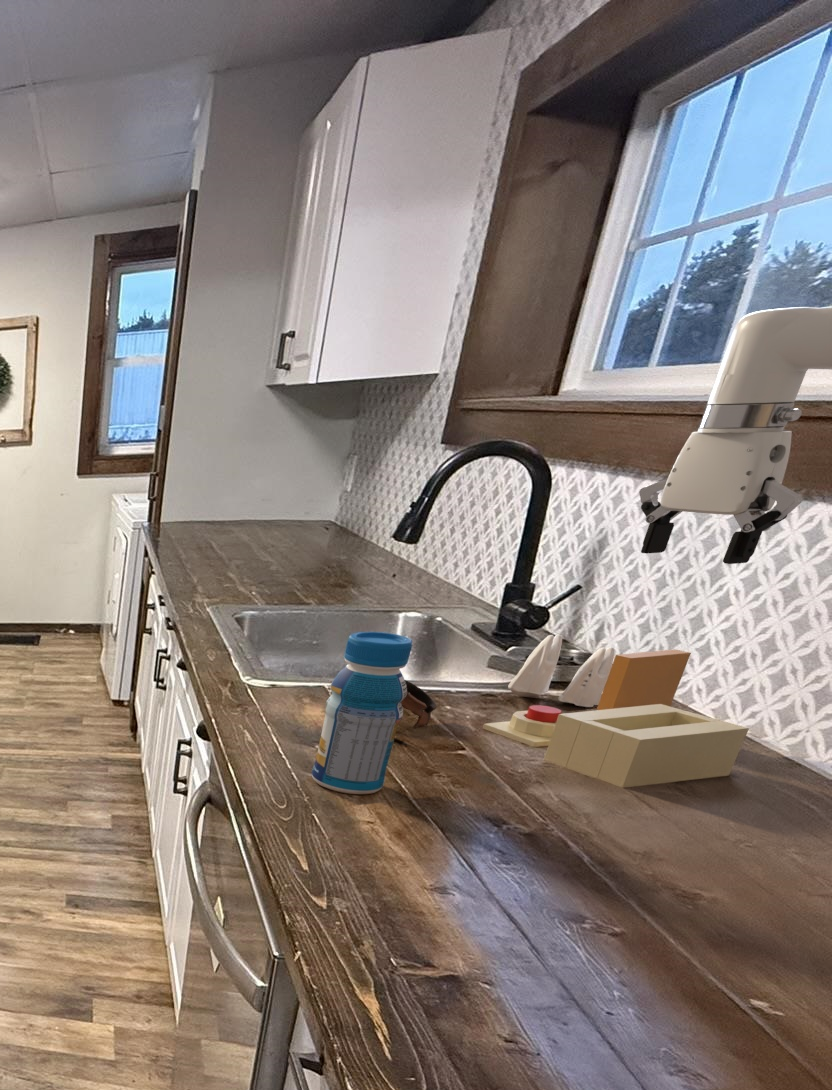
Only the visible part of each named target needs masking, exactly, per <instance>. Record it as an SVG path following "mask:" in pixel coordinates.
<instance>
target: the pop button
mask: <svg viewBox="0 0 832 1090" xmlns="http://www.w3.org/2000/svg"><path fill="white" fill-rule="evenodd" d="M527 711H528V712H527V715H526V718H528V719H531V720H534V721H540V722H548V723H556V722H557V719H558V716H559V714H562V712H563V711H562V709H559V708H557V707H554V706H549V705H539V704H534V705H529V706H528V709H527Z"/></svg>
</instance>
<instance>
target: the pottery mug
mask: <svg viewBox="0 0 832 1090" xmlns="http://www.w3.org/2000/svg"><path fill="white" fill-rule="evenodd" d="M405 682H406V686H407V696H406V697H405V699H403V700H402V702H401V705H402V707H403V709H406V710H408V711H410V712H411V713H412V714H414V715H415V716H417V717H418V718H417V721H416V722H415V723H414V725H413V726H412V728H415V727H425V726H428V725H429V723H430V720H431V717H432V714H431V713H432V712H433V711H435V710H437V704H436V703H435V701H434V700H433V698H432V697H431V696H429V694H427V692H425V691H424V690H423V689H421V688H420V687H418V686H417V685H416V684H414V683H412V682H411V681H408V680H407V679H405Z"/></svg>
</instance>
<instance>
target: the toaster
mask: <svg viewBox="0 0 832 1090" xmlns="http://www.w3.org/2000/svg"><path fill="white" fill-rule="evenodd" d="M749 730H750V728H749V727H746V726H742V725H738V724H736V723H731V722H728V721H724V720H721V719H718V718H717V719H716V718H714V717H709V716H707V715H702V714H699V713H695V712H691V711H687V710H684V709H680V708H677V707H673V706H666V705H663V704H655V705H645V706H635V707H625V708H615V709H605V710H597V709H596V710H587V711H586V710H585V711H577V712H575V711H574V712H567V713H561V714H559V716H558V719H557V722H556V725H555V727H554V730H553V733H552V736H551V739H550V742H549V745H548V746H547V748H546V750H545V751H546V752H545V755H544V758H543V760H544V761H547V762H549V763H552V764H554V765H557V766H560V767H563V768H565V769H568V770H570V771H573V772H576V773H579V774H581V775H584V776H586V777H589V778H592V779H598V780H600V781H603V782H606V783H609V784H611V785H614V786H617V787H619V788H632V787H633V788H634V787H640V786H648V785H649V786H650V785H658V784H666V783H667V784H668V783H675V782H684V781H692V780H700V779H710V778H718V777H727V776H730V775H731V771H732V769H733V767H734V765H735V762H736V759H737V757H738V755H739V753H740V751H741V749H742V746H743V743H744V742H745V739H746V736H747V735H748V732H749Z"/></svg>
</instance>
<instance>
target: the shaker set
mask: <svg viewBox="0 0 832 1090" xmlns="http://www.w3.org/2000/svg"><path fill="white" fill-rule="evenodd" d="M562 645H563V635H561V634H559V633H557V634H555V636H554V634H549V635H547V636H546V637H545V638H544V639H542V641H541V642H540V643H538V644H537V646H536V647H535V648H534V649H533V650H532V652H531V653H530V654H529V656H528V657H527V658H526V659H525V662H524V664H523V666H522V667H521V668H520V670H518V672H517V674H516V675H515V676H514V678H513V679H512V680H511V681H510V682H509V683H508V684H507V685H508V686H507V689H509V690H510V692H511V693H512V694H514V695H516V696H519V697H524V698H539V697H540V696H541V695H543V694H545V693H548V691H549V690H550V689H549V688H550V685H551V683H552V679H553V675H554V672H555V670H556V667H557V665H558V662H559V658H560V655H561V649H562ZM614 659H615V648H614V647H611V646H609V647H607V648H606V647H600V648H598V649H597V650H596V651H595V652H594V653H592V654H591V655H590V656H589V657H588V658H587V659H586V661H585V662H583V664H582V665H580V667H579V668H578V669H577V671H576V672H575V674H574V676H573V678H572V679H571V682H570V683H569V684H568V686H567V687H565V689H564V690H563V691H562V692H561V694H560V695H559V696H558V697H557V699H556V700H557V701H559V702H562V703H569V704H574V705H575V706H578V707H585V708H592V707H594V706H598V704H599V701H600V699H601V696H602V693H603V690H604V687H605V684H606V681H607V679H608V676H609V673H610V670H611V667H612V664H613V662H614Z"/></svg>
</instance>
